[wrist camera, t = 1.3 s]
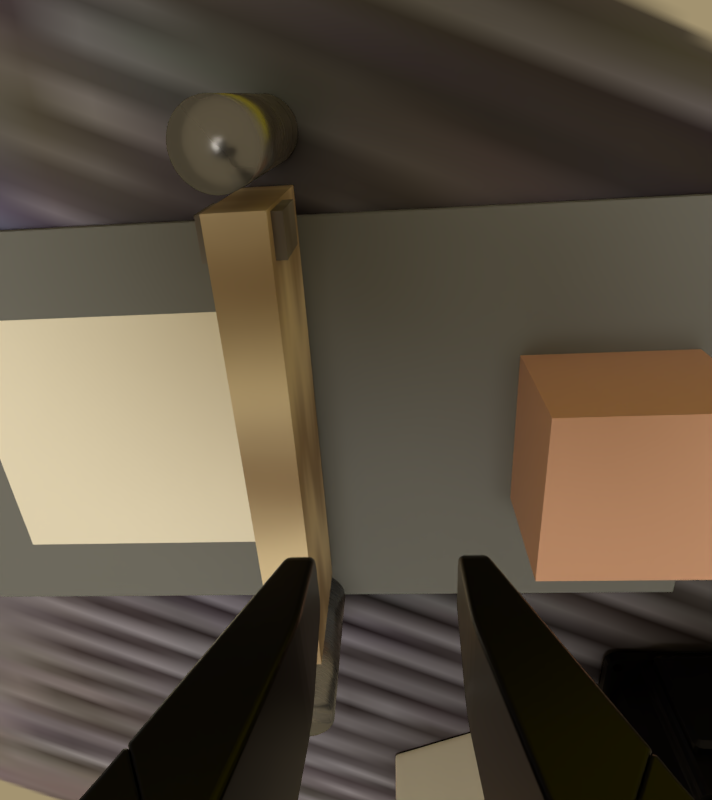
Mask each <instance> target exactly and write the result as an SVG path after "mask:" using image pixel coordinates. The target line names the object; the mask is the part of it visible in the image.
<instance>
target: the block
mask: <svg viewBox="0 0 712 800" xmlns="http://www.w3.org/2000/svg"><path fill="white" fill-rule="evenodd" d="M510 499H511V502H512V505H513V509H514V512H515V515H516V519H517V522H518V525H519V528H520V532H521V535H522V538H523V542H524V545H525V548H526V552H527V555H528V558H529V562H530V565H531V568H532V572H533V575H534V578H535V581H628V580H712V358H711V357H710V356H709V355H708V354H707V353H705V352H704V351H703V350H702V349H690V350H661V351H632V352H603V353H574V354H545V355H520V367H519V381H518V395H517V409H516V423H515V437H514V451H513V465H512V479H511V493H510Z"/></svg>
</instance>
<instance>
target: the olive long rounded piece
mask: <svg viewBox="0 0 712 800" xmlns="http://www.w3.org/2000/svg"><path fill="white" fill-rule="evenodd" d="M297 139H298V126H297V121H296V118H295V116H294V114H293V112H292V110H291V109H290V108H289V106H288V105H287V104H286V103H285V102H284V101H282V100H281V99H279V98H278V97H276V96H273V95H270V94H247V93H202V94H197V95H194V96H191V97H189V98H187V99H186V100H184V101H183V102H182V103H181V104H180V105H178V107H177V108H176V109H175V110H174V112H173V114H172V115H171V117H170V120H169V122H168V126H167V132H166V145H167V151H168V155H169V158H170V160H171V163H172V165H173V167H174V168H175V170H176V172H177V173H178V174H179V176H180V177H181V178H182V179H183V180H184V181H185V182H186V183H187V184H189V185H190V186H191V187H193V188H194V189H196V190H198V191H200V192H203V193H206V194H210V195H226V194H230V193H233V192H235V191H237V190H239V189H241V188H242V187H244V186H245V185H247V184H249V183H250V182H252V181H253V180H255V179H257V178H258V177H260V176H261V175H263V174H264V173H266V172H268V171H269V170H271V169H272V168H274V167H276V166H277V165H279V164H280V163H282V162H283V161H285V160H286V159H287V158H288V157H289V156H290V155H291V154H292V152H293V151H294V149H295V146H296V144H297ZM344 602H345V592H344V589H343V587H342V585H341V584H340V583H339V582H338V581H337V580H335V579H334V578H332V579H331V588H330V596H329V605H328V613H327V622H326V630H325V639H324V647H323V655H322V664H317V668H316V682H315V697H314V708H313V718H312V724H311V731H310V736H314V735H318V734H321V733H323V732H325V731H326V730H328V729H329V728H330V727H331V726H332V724H333V722H334V717H335V705H336V694H337V683H338V671H339V660H340V648H341V637H342V625H343V614H344Z"/></svg>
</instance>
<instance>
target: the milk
mask: <svg viewBox="0 0 712 800" xmlns="http://www.w3.org/2000/svg"><path fill="white" fill-rule="evenodd" d="M396 800H484V795H483V790H482V785H481V781H480V776H479V771H478V766H477V762H476V757H475V752H474V747H473V743H472V738H471V733H468V734H465V735H461V736H458V737H455V738H451V739H448V740H444V741H441V742H438V743H434V744H431V745H428V746H424V747H421V748H417V749H414V750H411V751H407V752H404V753H400V754H397V755H396Z"/></svg>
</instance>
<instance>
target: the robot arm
mask: <svg viewBox="0 0 712 800" xmlns="http://www.w3.org/2000/svg"><path fill="white" fill-rule="evenodd" d="M457 611H458V623H459V633H460V644H461V655H462V666H463V677H464V688H465V698H466V707H467V715H468V722H469V727H470V733H471V738H472V743H473V747H474V752H475V757H476V762H477V766H478V771H479V776H480V781H481V785H482V790H483V795H484V800H712V653H611V654H609V655H607V656H606V657H605V659H604V662H603V667H602V673H601V678H600V683H599V687H598V685H597V684H596V683H595V682H594V681H593V679H592V678H591V677H590V676H589V675H588V673H587V672H586V671H585V670H584V669H583V668H582V666H581V665H580V664H579V663H578V662H577V660H576V659H575V658H574V657H573V656H572V655H571V653H570V652H569V651H568V650H567V649H566V647H565V646H564V645H563V644H562V643H561V642H560V640H559V639H558V638H557V637H556V636H555V634H554V633H553V632H552V631H551V630H550V629H549V627H548V626H547V625H546V624H545V623H544V621H543V620H542V619H541V618H540V617H539V616H538V614H537V613H536V612H535V611H534V610H533V608H532V607H531V606H530V605H529V604H528V603H527V601H526V600H525V599H524V598H523V597H522V595H521V594H520V593H519V592H518V591H517V589H516V588H515V587H514V586H513V585H512V584H511V582H510V581H509V580H508V579H507V578H506V576H505V575H504V574H503V573H502V572H501V571H500V569H499V568H498V567H497V566H496V565H495V563H494V562H493V561H492V560H491V559H490V558H489V557H488V556H486V555H463V556H461V557H460V558H459V560H458V581H457ZM319 624H320V595H319V587H318V578H317V569H316V563H315V560H314V559H313V558H311V557H290V558H287V559H285V560H284V561H283V562H282V563H281V565H280V566H279V567H278V568H277V569H276V570H275V572H274V573H273V574H272V575H271V576H270V577H269V579H268V580H267V581H266V582H265V583H264V585H263V586H262V587H261V588H260V589H259V590H258V592H257V593H256V594H255V595H254V596H253V597H252V599H251V600H250V601H249V602H248V603H247V605H246V606H245V607H244V608H243V609H242V610H241V612H240V613H239V614H238V615H237V616H236V617H235V619H234V620H233V621H232V622H231V623H230V625H229V626H228V627H227V628H226V629H225V630H224V632H223V633H222V634H221V635H220V636H219V637H218V639H217V640H216V641H215V642H214V643H213V645H212V646H211V647H210V648H209V649H208V650H207V652H206V653H205V654H204V655H203V656H202V657H201V659H200V660H199V661H198V662H197V663H196V665H195V666H194V667H193V668H192V669H191V670H190V672H189V673H188V674H187V675H186V676H185V677H184V679H183V680H182V681H181V682H180V683H179V685H178V686H177V687H176V688H175V689H174V690H173V692H172V693H171V694H170V695H169V696H168V697H167V699H166V700H165V701H164V702H163V703H162V705H161V706H160V707H159V708H158V709H157V710H156V712H155V713H154V714H153V715H152V716H151V717H150V719H149V720H148V721H147V722H146V723H145V724H144V726H143V727H142V728H141V729H140V730H139V732H138V733H137V734H136V735H135V736H134V737H133V739H132V740H131V741H130V742H129V744H128V748H129V750H128V749H123V750H122V751H121V752H120V754H119V755H118V756H117V757H116V758H115V759H114V761H113V762H112V763H111V764H110V765H109V766H108V768H107V769H106V770H105V771H104V772H103V773H102V775H101V776H100V777H99V778H98V779H97V780H96V781H95V783H94V784H93V785H92V786H91V787H90V788H89V789H88V790H87V792H86V793H85V794H84V795H83V796H82V797H81V798H80V799H79V800H298V796H299V791H300V785H301V780H302V774H303V769H304V764H305V758H306V753H307V748H308V742H309V737H310V731H311V724H312V718H313V708H314V697H315V682H316V668H317V653H318V639H319Z"/></svg>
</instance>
